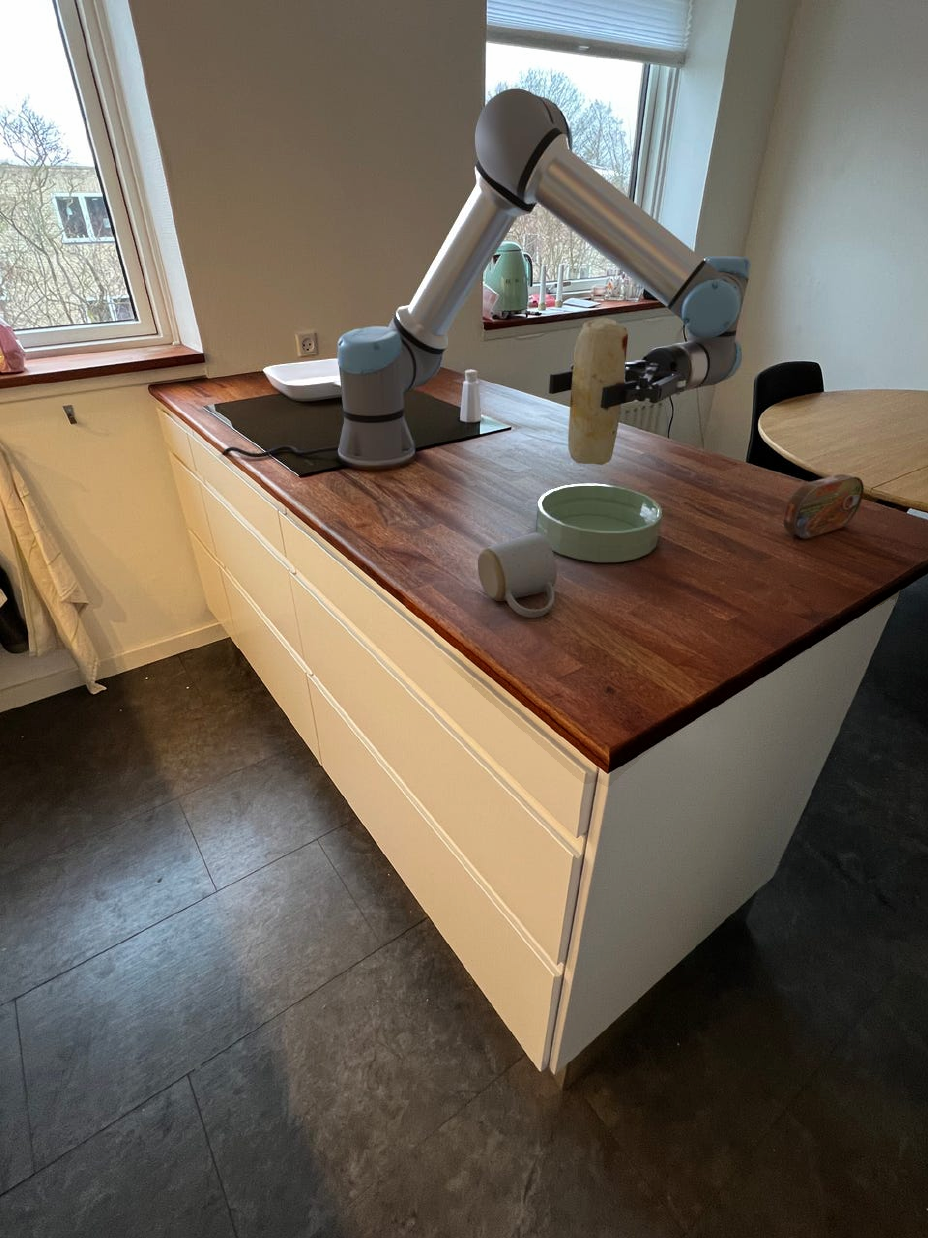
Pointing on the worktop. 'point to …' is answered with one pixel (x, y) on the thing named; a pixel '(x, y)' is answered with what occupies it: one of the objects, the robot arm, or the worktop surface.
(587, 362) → the food model
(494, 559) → the ceramic mug
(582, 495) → the bowl
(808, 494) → the tin
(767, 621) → the worktop surface
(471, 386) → the pepper shaker
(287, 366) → the pan
